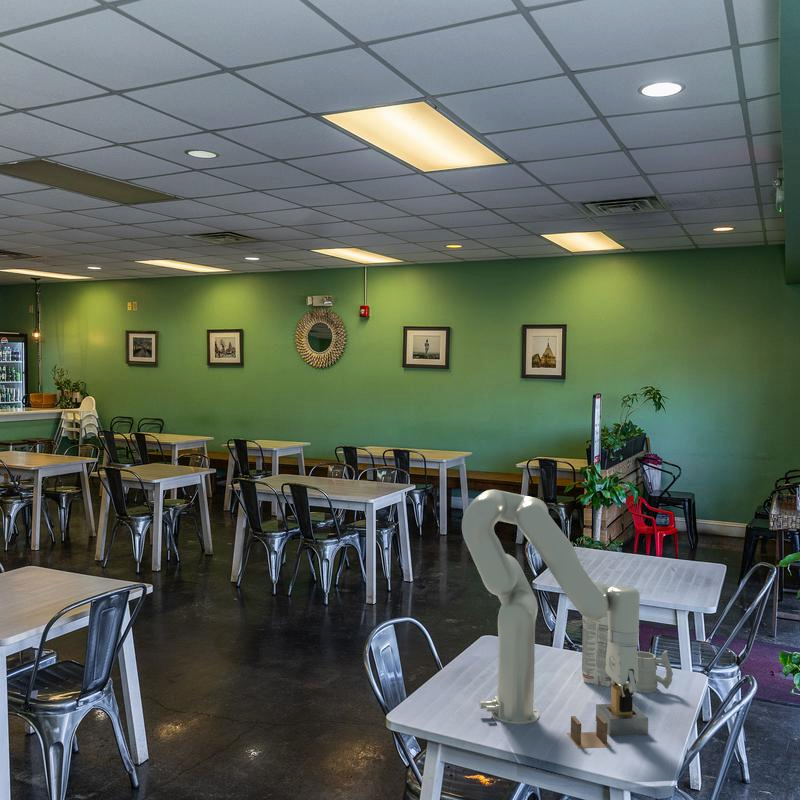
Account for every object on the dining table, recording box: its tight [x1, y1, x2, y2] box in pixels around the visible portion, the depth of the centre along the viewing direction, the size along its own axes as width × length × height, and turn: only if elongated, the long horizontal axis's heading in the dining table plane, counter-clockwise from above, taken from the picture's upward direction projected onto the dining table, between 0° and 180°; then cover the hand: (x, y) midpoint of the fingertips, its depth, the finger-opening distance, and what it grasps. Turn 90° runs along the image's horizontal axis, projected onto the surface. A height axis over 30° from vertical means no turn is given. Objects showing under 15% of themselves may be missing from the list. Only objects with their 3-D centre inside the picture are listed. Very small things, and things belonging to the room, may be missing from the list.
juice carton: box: [581, 611, 612, 688], centre depth 222 cm, size 9×8×24 cm
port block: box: [595, 703, 649, 737], centre depth 189 cm, size 10×9×5 cm
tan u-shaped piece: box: [566, 715, 612, 749], centre depth 182 cm, size 8×8×6 cm
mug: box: [636, 650, 674, 694], centre depth 216 cm, size 8×12×12 cm, turn 67°
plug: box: [610, 685, 634, 715], centre depth 189 cm, size 4×3×10 cm
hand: (621, 706), depth 189 cm, fingers open, 4 cm apart
